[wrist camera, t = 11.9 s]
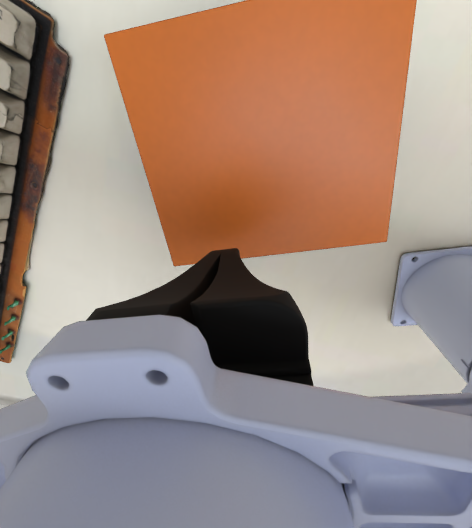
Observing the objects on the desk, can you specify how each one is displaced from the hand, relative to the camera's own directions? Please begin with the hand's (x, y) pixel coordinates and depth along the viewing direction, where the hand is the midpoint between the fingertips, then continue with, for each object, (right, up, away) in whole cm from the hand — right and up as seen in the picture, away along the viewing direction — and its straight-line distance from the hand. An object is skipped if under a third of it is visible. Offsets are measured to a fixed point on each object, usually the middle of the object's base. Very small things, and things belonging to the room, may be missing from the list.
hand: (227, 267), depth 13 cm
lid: (+2, +6, +1) cm, 7 cm away
